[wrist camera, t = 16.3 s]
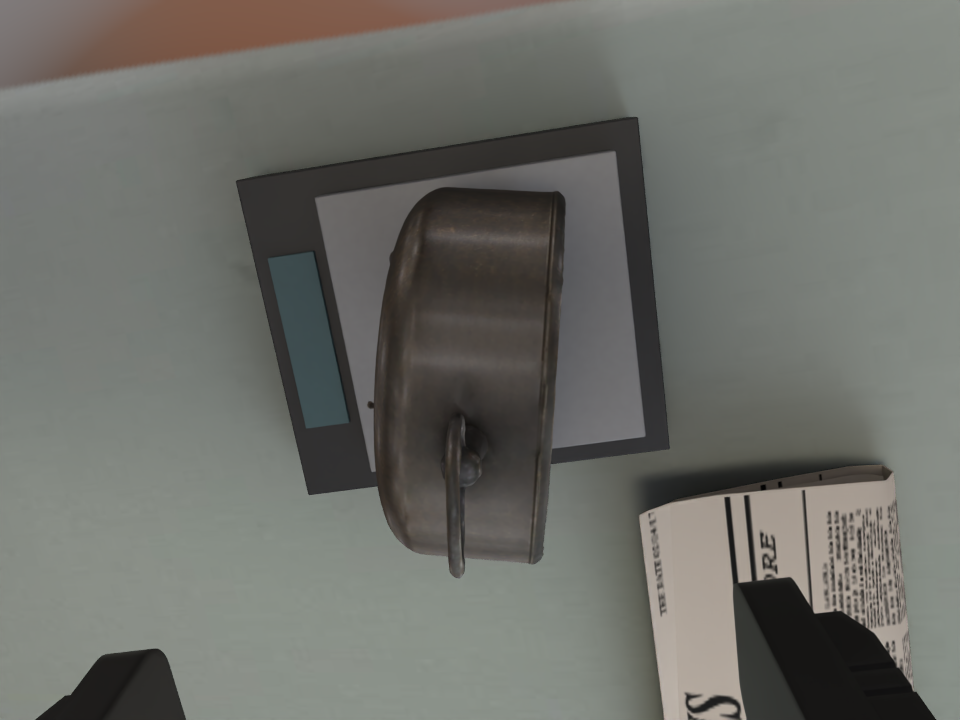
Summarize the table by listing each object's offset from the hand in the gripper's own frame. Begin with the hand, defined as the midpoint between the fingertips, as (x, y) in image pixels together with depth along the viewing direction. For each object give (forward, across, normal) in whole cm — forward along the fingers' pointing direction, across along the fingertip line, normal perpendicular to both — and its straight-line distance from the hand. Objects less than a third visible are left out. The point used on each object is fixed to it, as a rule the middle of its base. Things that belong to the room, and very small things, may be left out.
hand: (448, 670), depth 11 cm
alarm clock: (+21, 0, 0) cm, 21 cm away
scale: (+24, +1, 0) cm, 24 cm away
